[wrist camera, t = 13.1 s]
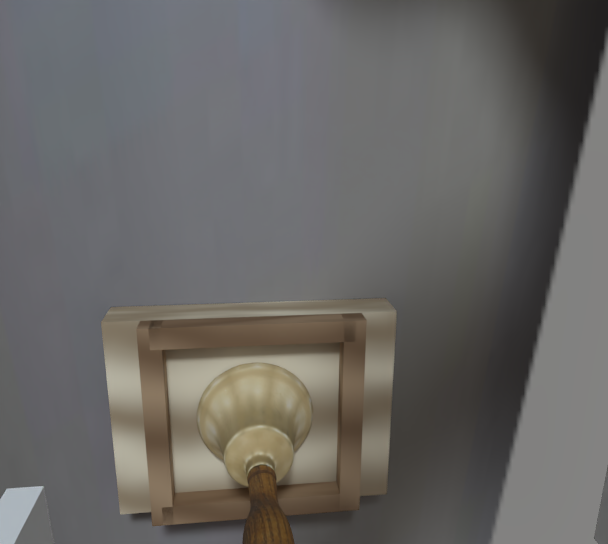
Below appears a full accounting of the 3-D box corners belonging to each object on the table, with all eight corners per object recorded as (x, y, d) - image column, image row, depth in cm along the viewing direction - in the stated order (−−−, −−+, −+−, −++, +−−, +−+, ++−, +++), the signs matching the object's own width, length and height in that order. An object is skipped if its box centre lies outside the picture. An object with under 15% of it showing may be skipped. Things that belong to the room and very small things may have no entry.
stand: (111, 307, 39) (95, 330, 35) (385, 298, 41) (402, 318, 37) (128, 487, 43) (116, 529, 39) (377, 470, 45) (392, 507, 41)
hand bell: (305, 352, 38) (351, 507, 23) (319, 454, 41) (368, 655, 25) (187, 372, 38) (153, 544, 22) (207, 474, 40) (190, 693, 25)
